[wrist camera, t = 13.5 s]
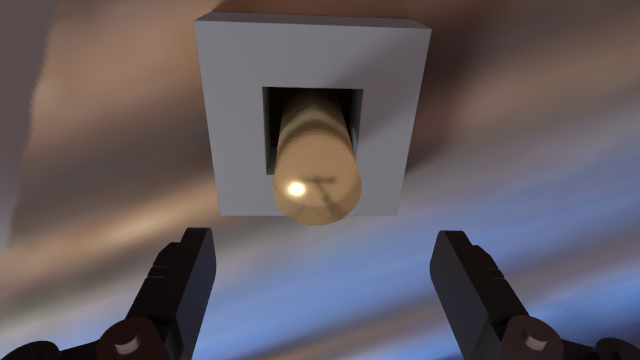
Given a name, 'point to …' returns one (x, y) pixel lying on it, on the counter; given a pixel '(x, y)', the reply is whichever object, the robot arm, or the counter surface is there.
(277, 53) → the block
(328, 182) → the brass cylinder
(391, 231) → the counter surface
